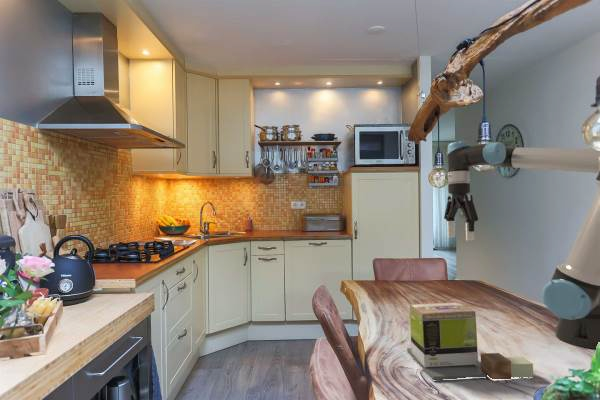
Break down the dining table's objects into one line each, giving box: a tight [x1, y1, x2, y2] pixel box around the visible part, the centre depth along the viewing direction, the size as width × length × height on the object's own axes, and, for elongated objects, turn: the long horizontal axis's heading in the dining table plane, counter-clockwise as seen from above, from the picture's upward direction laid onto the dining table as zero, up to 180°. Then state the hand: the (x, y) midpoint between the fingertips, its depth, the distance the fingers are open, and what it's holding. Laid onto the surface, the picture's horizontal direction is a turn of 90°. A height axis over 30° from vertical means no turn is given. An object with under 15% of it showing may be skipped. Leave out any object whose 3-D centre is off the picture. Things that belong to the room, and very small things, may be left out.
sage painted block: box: [504, 356, 534, 378], centre depth 91 cm, size 6×4×4 cm, turn 91°
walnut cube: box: [480, 352, 511, 379], centre depth 90 cm, size 5×5×5 cm
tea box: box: [409, 301, 479, 367], centre depth 98 cm, size 15×10×15 cm
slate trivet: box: [406, 347, 487, 381], centre depth 98 cm, size 14×18×1 cm
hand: (460, 239), depth 132 cm, fingers open, 13 cm apart
